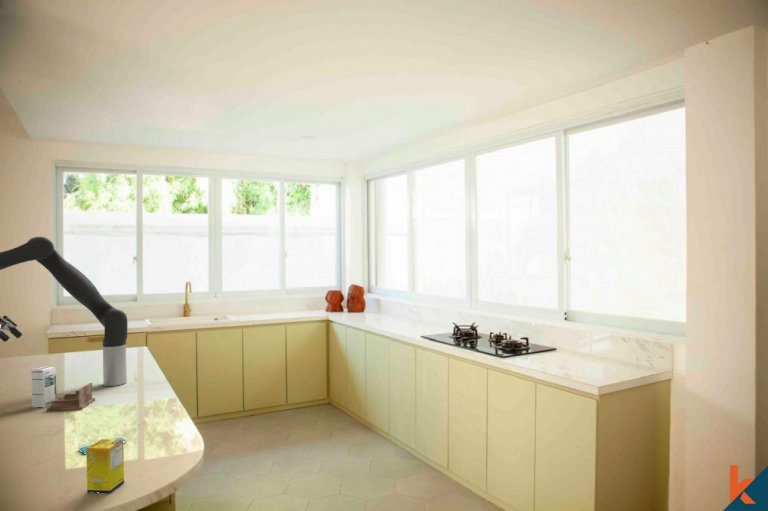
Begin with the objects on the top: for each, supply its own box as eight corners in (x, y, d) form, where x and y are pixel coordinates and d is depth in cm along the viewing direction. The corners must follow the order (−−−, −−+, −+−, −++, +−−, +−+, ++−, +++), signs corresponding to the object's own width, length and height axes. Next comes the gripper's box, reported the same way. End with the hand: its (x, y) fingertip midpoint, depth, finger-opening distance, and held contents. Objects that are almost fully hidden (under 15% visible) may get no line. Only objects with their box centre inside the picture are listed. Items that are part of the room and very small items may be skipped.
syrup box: (44, 408, 192) (43, 369, 192) (31, 407, 193) (30, 369, 193) (57, 403, 197) (56, 366, 197) (44, 402, 199) (43, 365, 199)
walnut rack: (62, 402, 199) (61, 384, 199) (95, 400, 201) (94, 382, 201) (46, 411, 187) (46, 392, 187) (82, 409, 189) (81, 390, 189)
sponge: (128, 442, 153) (122, 435, 157) (83, 453, 145) (78, 445, 149) (128, 447, 153) (122, 440, 157) (83, 458, 145) (78, 450, 149)
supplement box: (102, 482, 127) (101, 438, 127) (124, 483, 127) (124, 439, 127) (86, 493, 121) (85, 447, 121) (109, 494, 121) (109, 448, 121)
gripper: (-24, 303, 185) (11, 333, 187) (-1, 300, 199) (31, 328, 201) (-40, 318, 184) (-5, 348, 186) (-16, 314, 199) (17, 342, 200)
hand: (14, 338), depth 194 cm, fingers open, 8 cm apart
